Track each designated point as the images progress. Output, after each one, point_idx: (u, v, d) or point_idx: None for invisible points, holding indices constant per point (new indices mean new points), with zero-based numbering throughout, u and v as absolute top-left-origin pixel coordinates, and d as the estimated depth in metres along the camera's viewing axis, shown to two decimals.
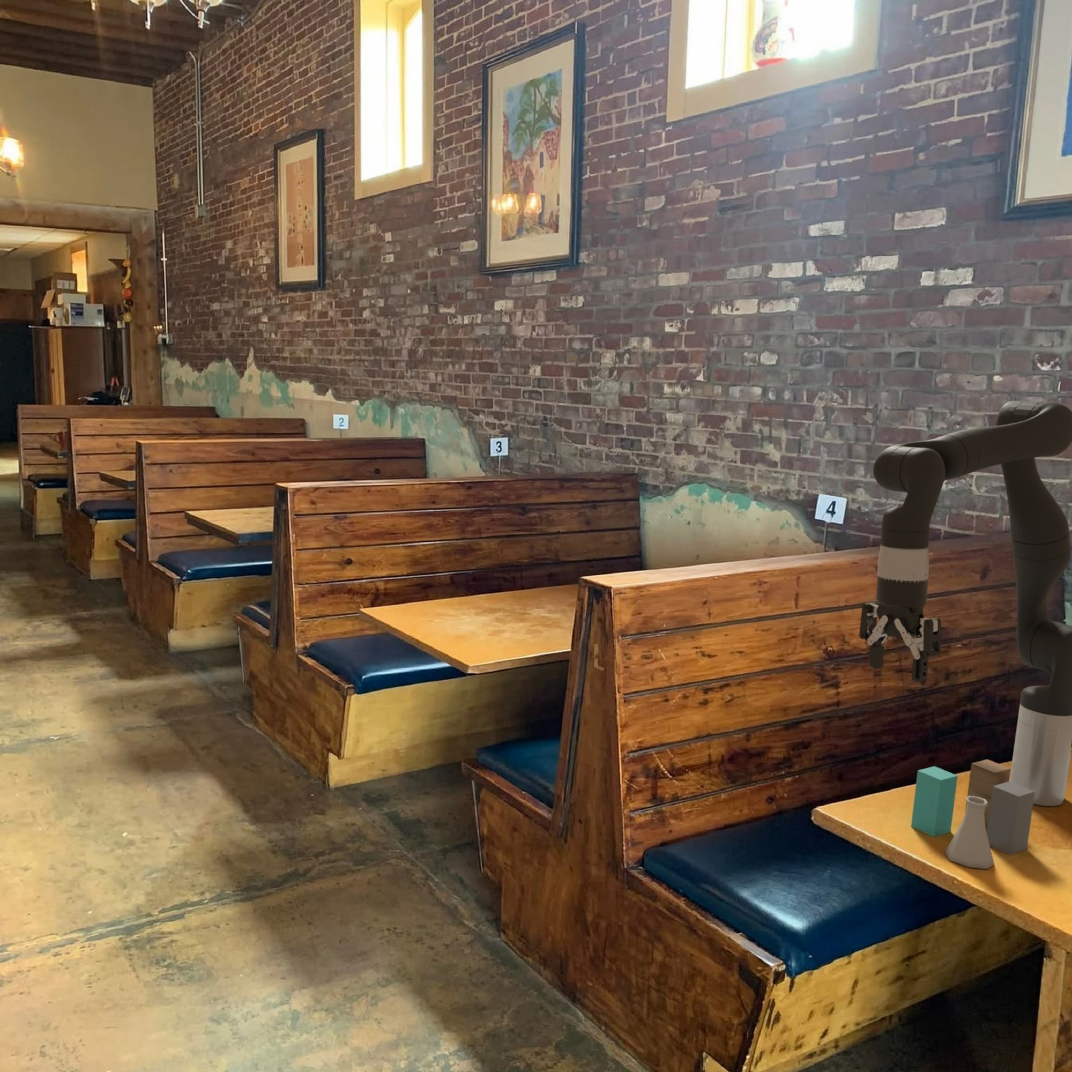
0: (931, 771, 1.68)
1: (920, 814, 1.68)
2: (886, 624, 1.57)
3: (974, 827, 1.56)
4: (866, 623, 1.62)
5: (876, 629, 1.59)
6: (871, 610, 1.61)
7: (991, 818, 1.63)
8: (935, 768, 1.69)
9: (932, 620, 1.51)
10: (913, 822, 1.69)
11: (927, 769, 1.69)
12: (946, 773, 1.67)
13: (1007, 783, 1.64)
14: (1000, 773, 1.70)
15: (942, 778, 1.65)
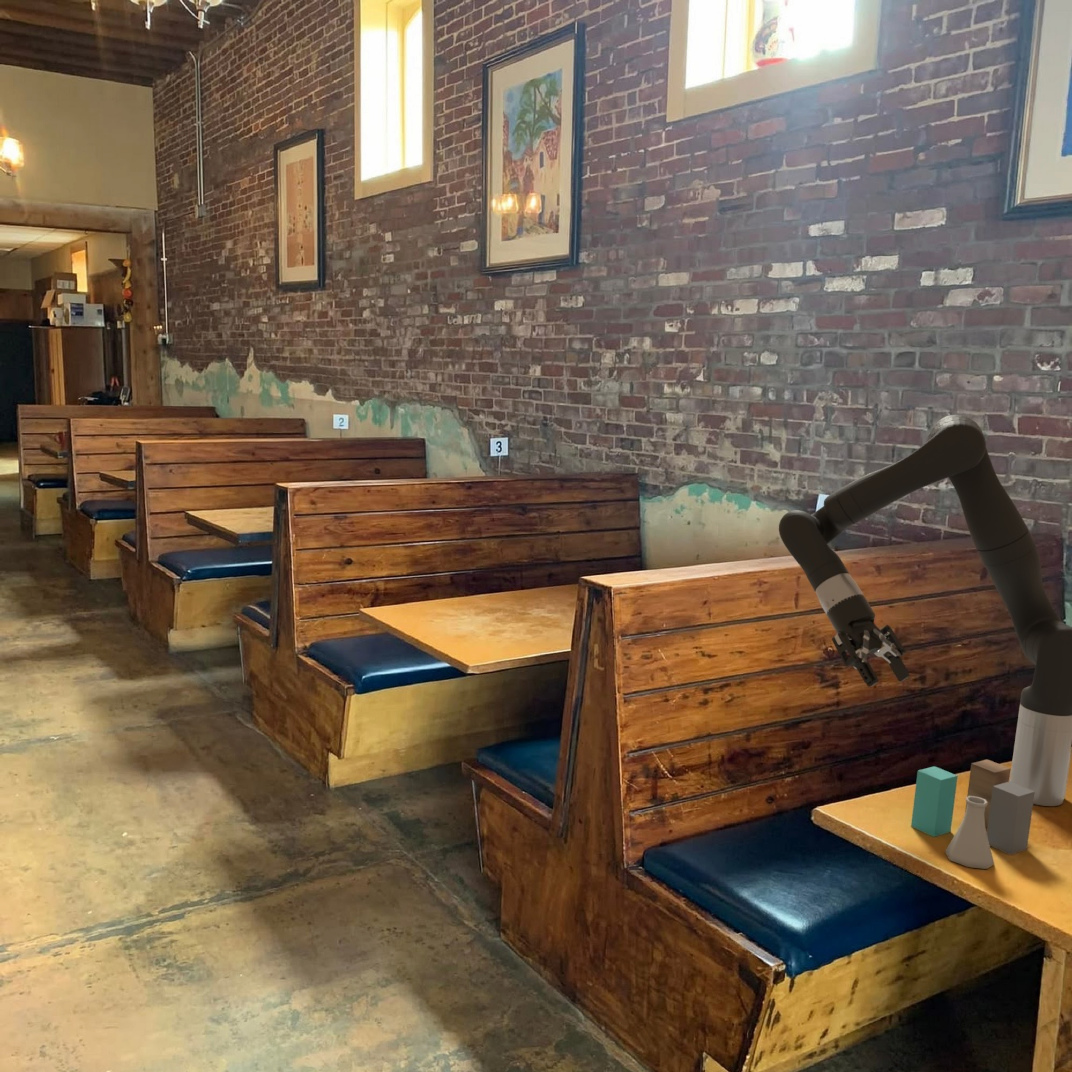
0: (931, 771, 1.68)
1: (920, 814, 1.68)
2: None
3: (974, 827, 1.56)
4: None
5: None
6: None
7: (991, 818, 1.63)
8: (935, 768, 1.69)
9: (834, 636, 1.76)
10: (913, 822, 1.69)
11: (927, 769, 1.69)
12: (946, 773, 1.67)
13: (1007, 783, 1.64)
14: (1000, 773, 1.70)
15: (942, 778, 1.65)
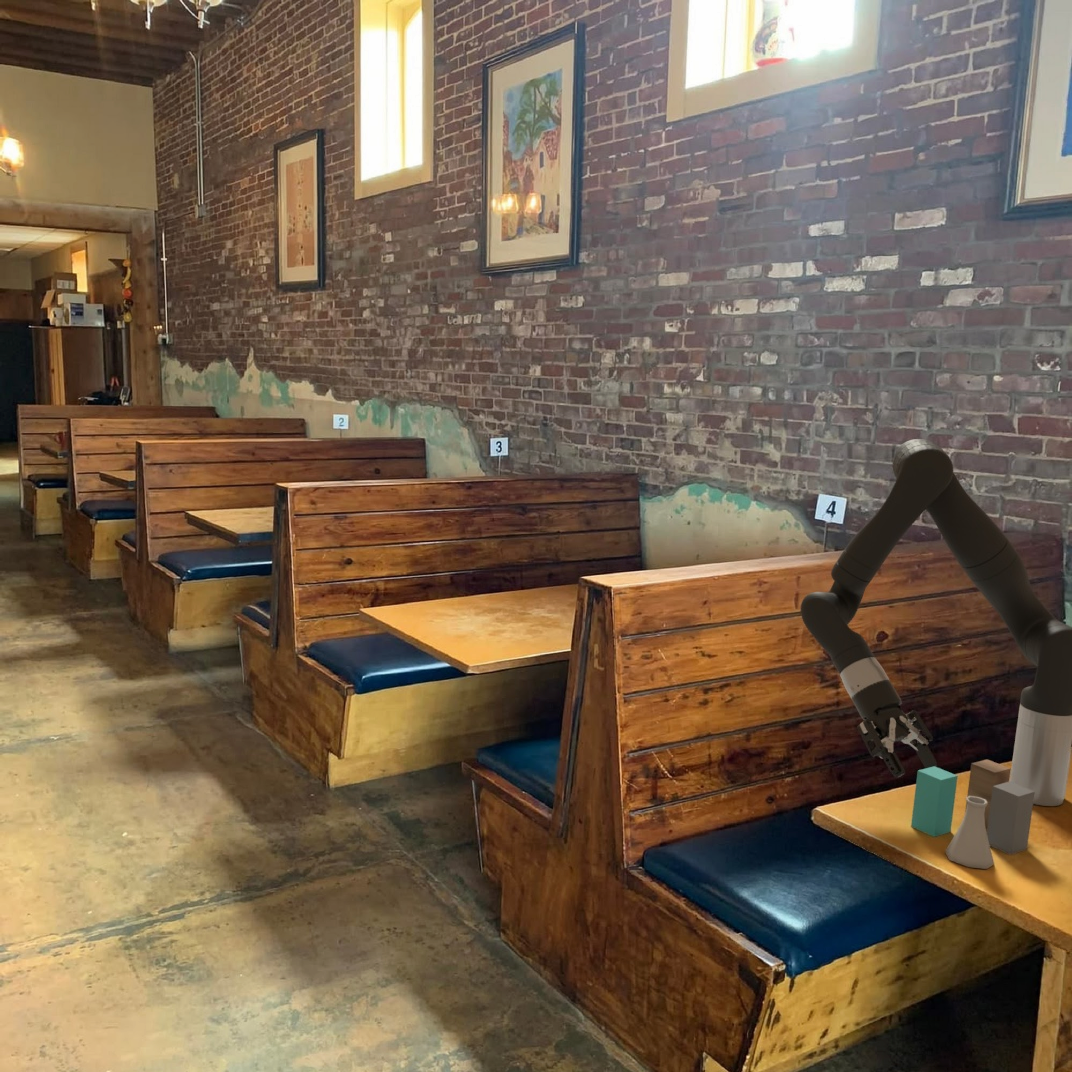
0: (931, 771, 1.68)
1: (920, 814, 1.68)
2: None
3: (974, 827, 1.56)
4: None
5: None
6: None
7: (991, 818, 1.63)
8: (935, 768, 1.69)
9: (860, 724, 1.72)
10: (913, 822, 1.69)
11: (927, 769, 1.69)
12: (946, 773, 1.67)
13: (1007, 783, 1.64)
14: (1000, 773, 1.70)
15: (942, 778, 1.65)
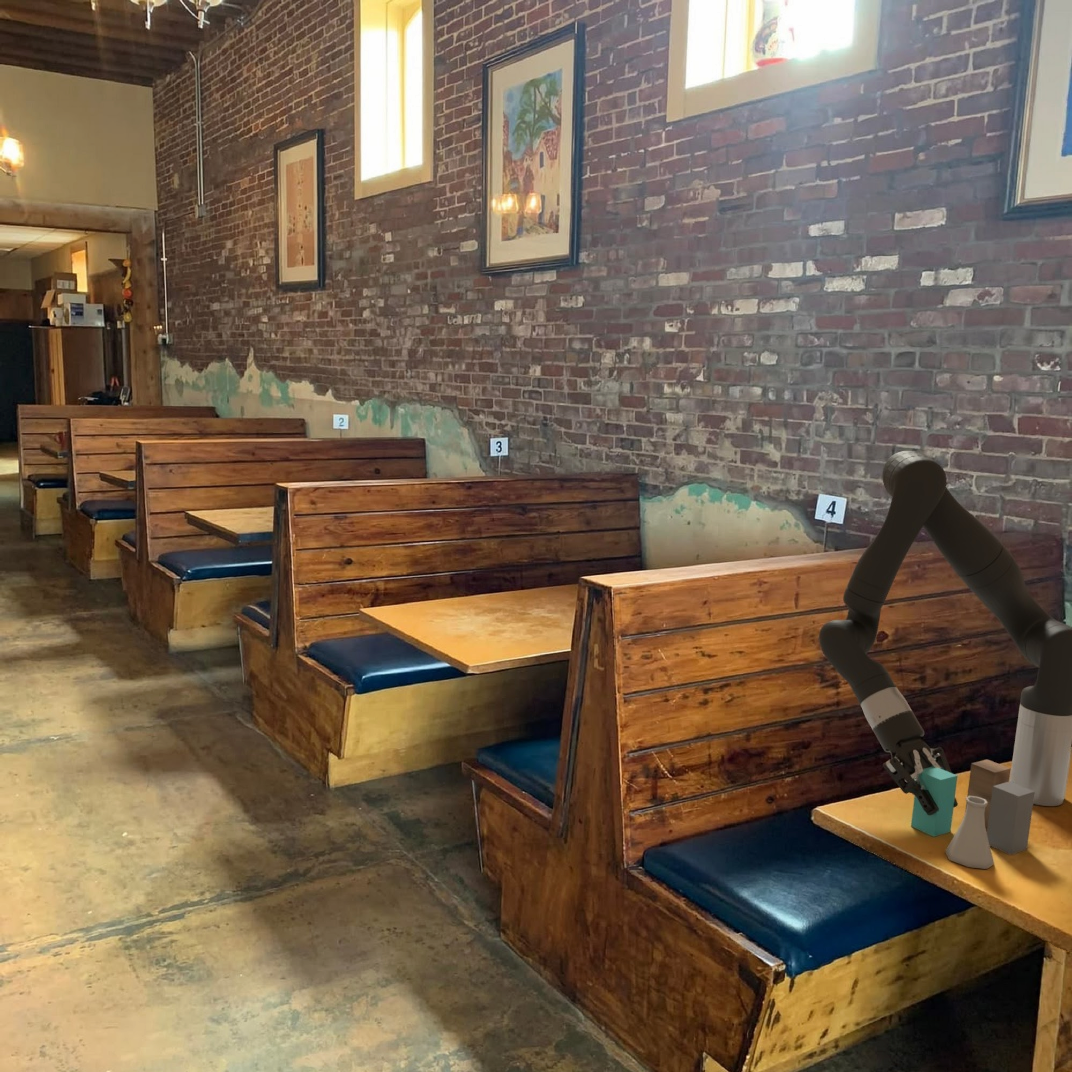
0: (931, 771, 1.68)
1: (920, 814, 1.68)
2: None
3: (974, 827, 1.56)
4: None
5: None
6: None
7: (991, 818, 1.63)
8: (935, 768, 1.69)
9: (886, 763, 1.68)
10: (913, 822, 1.69)
11: (927, 769, 1.69)
12: (946, 773, 1.67)
13: (1007, 783, 1.64)
14: (1000, 773, 1.70)
15: (941, 778, 1.65)
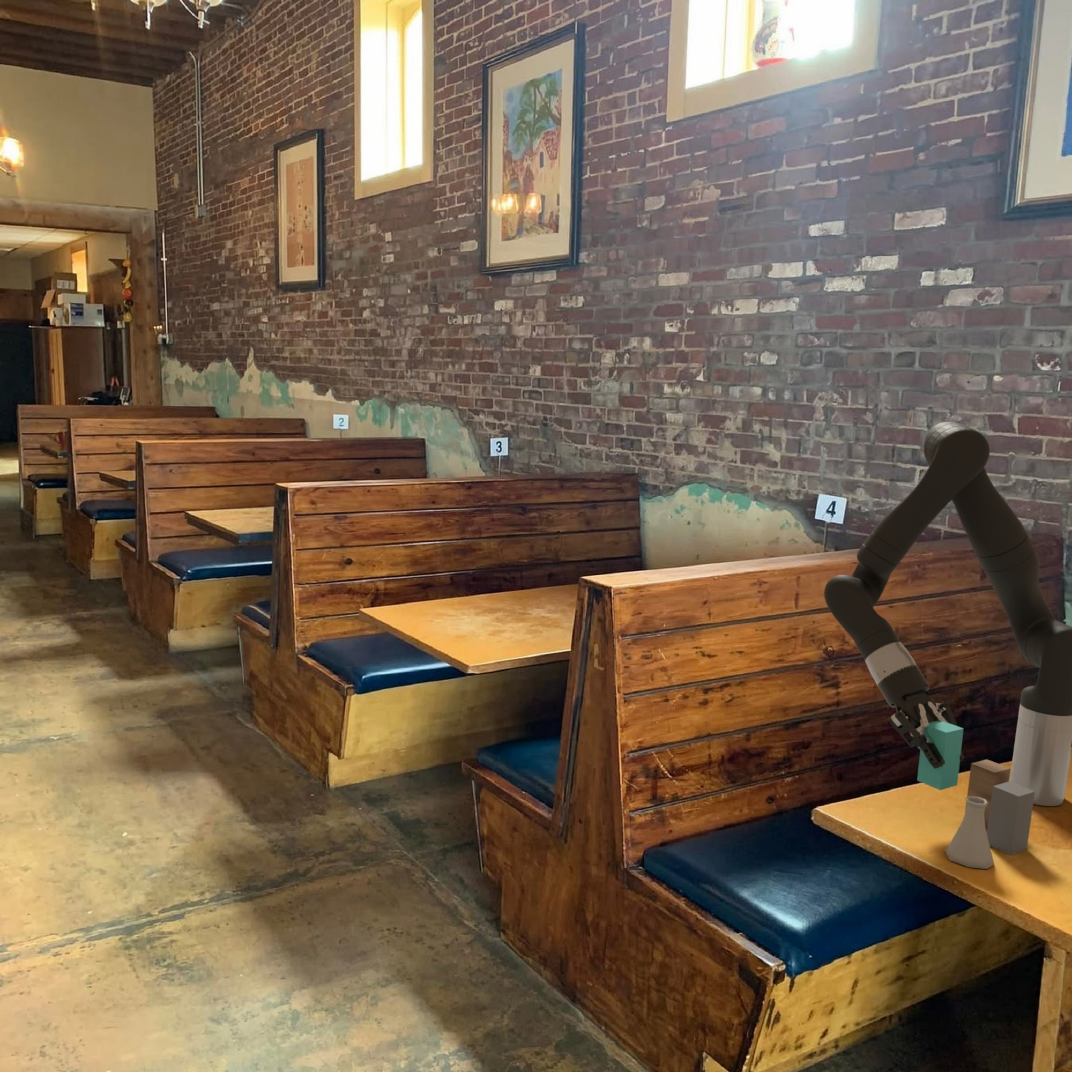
0: (937, 724, 1.67)
1: (926, 768, 1.67)
2: None
3: (974, 827, 1.56)
4: None
5: None
6: None
7: (991, 818, 1.63)
8: (941, 722, 1.68)
9: (891, 717, 1.67)
10: (919, 776, 1.68)
11: (933, 723, 1.67)
12: (952, 726, 1.66)
13: (1007, 783, 1.64)
14: (1000, 773, 1.70)
15: (947, 731, 1.64)
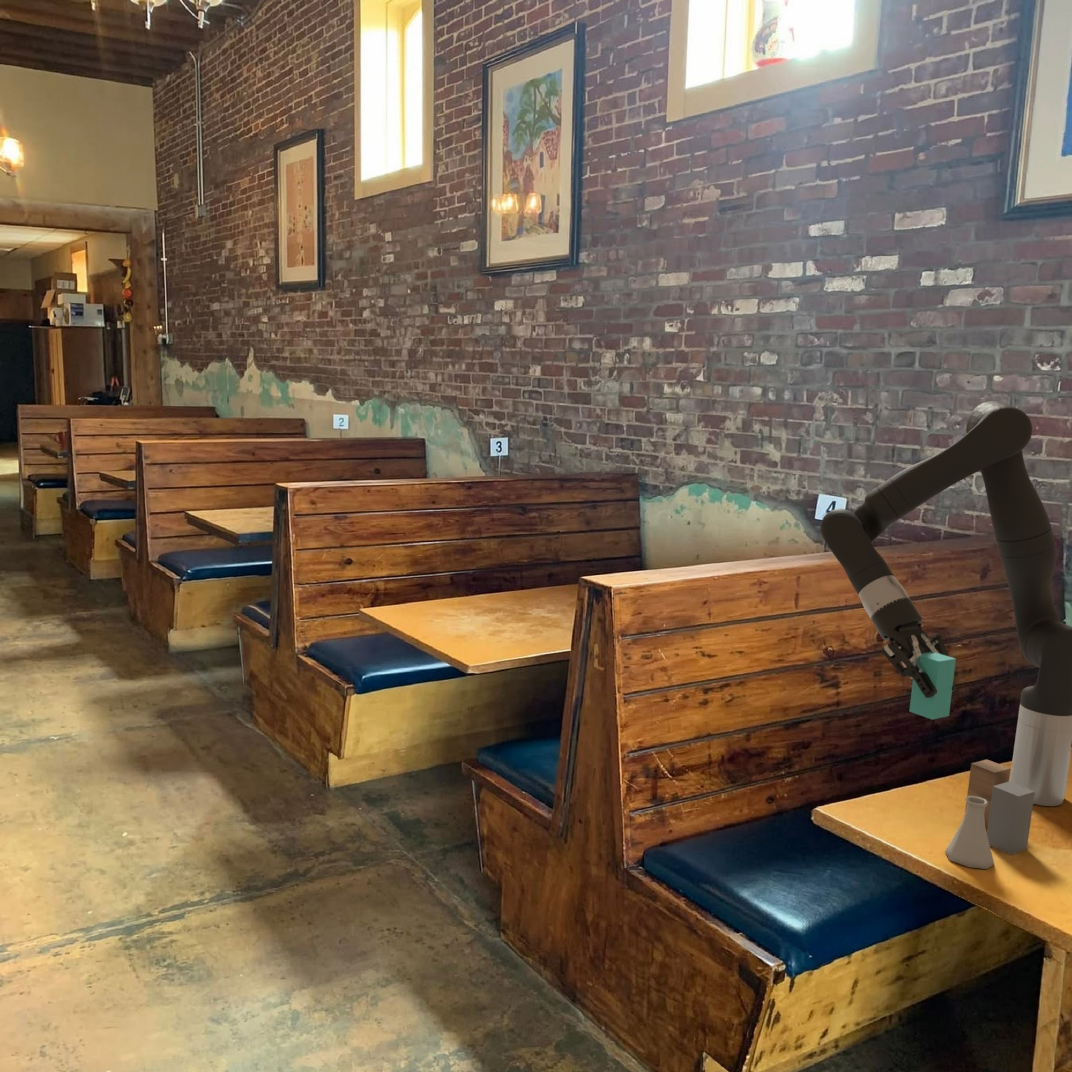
0: (929, 655, 1.67)
1: (918, 698, 1.67)
2: None
3: (974, 827, 1.56)
4: None
5: None
6: None
7: (991, 818, 1.63)
8: (933, 653, 1.69)
9: (884, 648, 1.67)
10: (911, 707, 1.68)
11: (925, 653, 1.68)
12: (944, 656, 1.67)
13: (1007, 783, 1.64)
14: (1000, 773, 1.70)
15: (940, 660, 1.64)
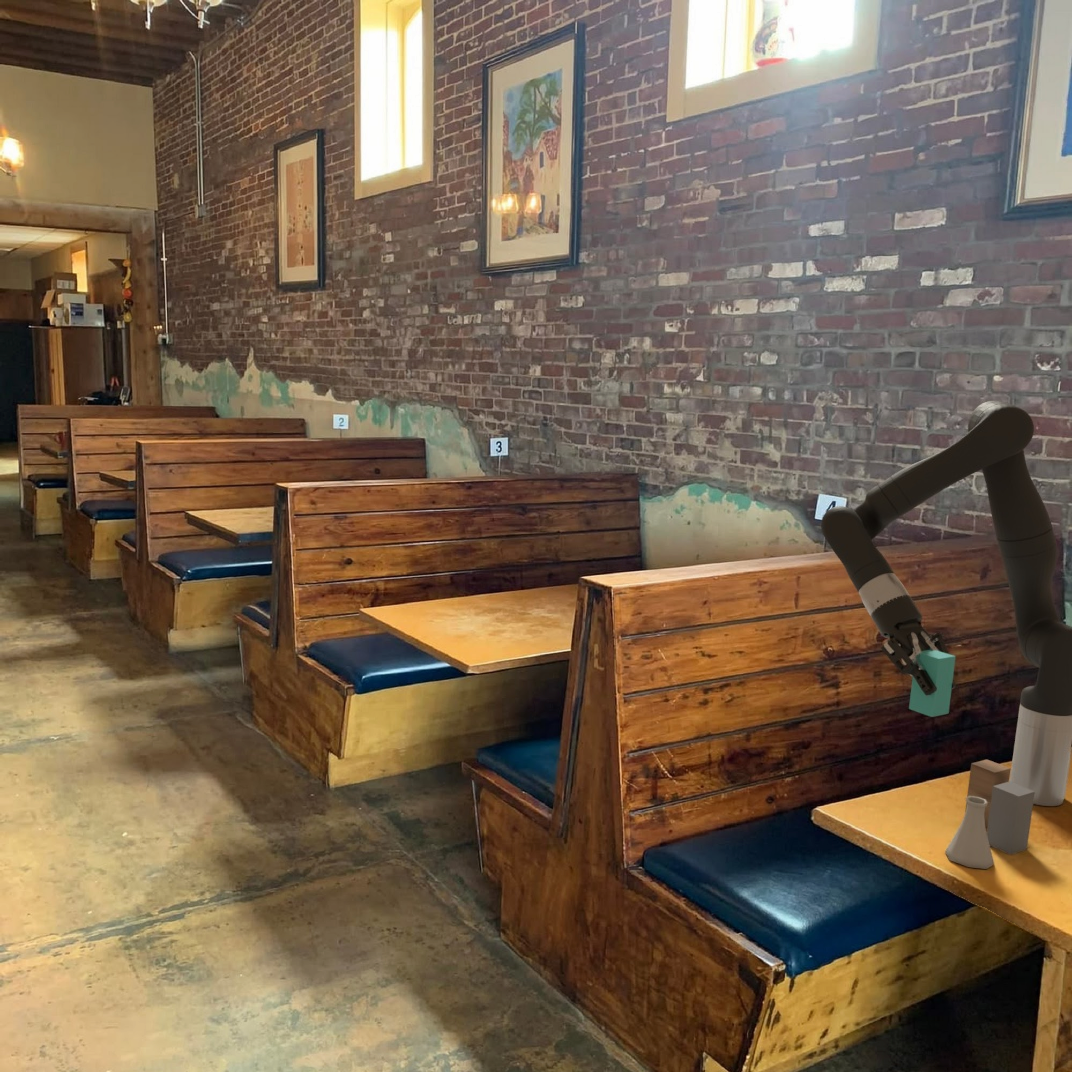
0: (929, 652, 1.67)
1: (918, 695, 1.67)
2: None
3: (974, 827, 1.56)
4: None
5: None
6: None
7: (991, 818, 1.63)
8: None
9: (884, 645, 1.67)
10: (911, 704, 1.68)
11: (925, 651, 1.68)
12: (944, 654, 1.67)
13: (1007, 783, 1.64)
14: (1000, 773, 1.70)
15: (940, 658, 1.64)
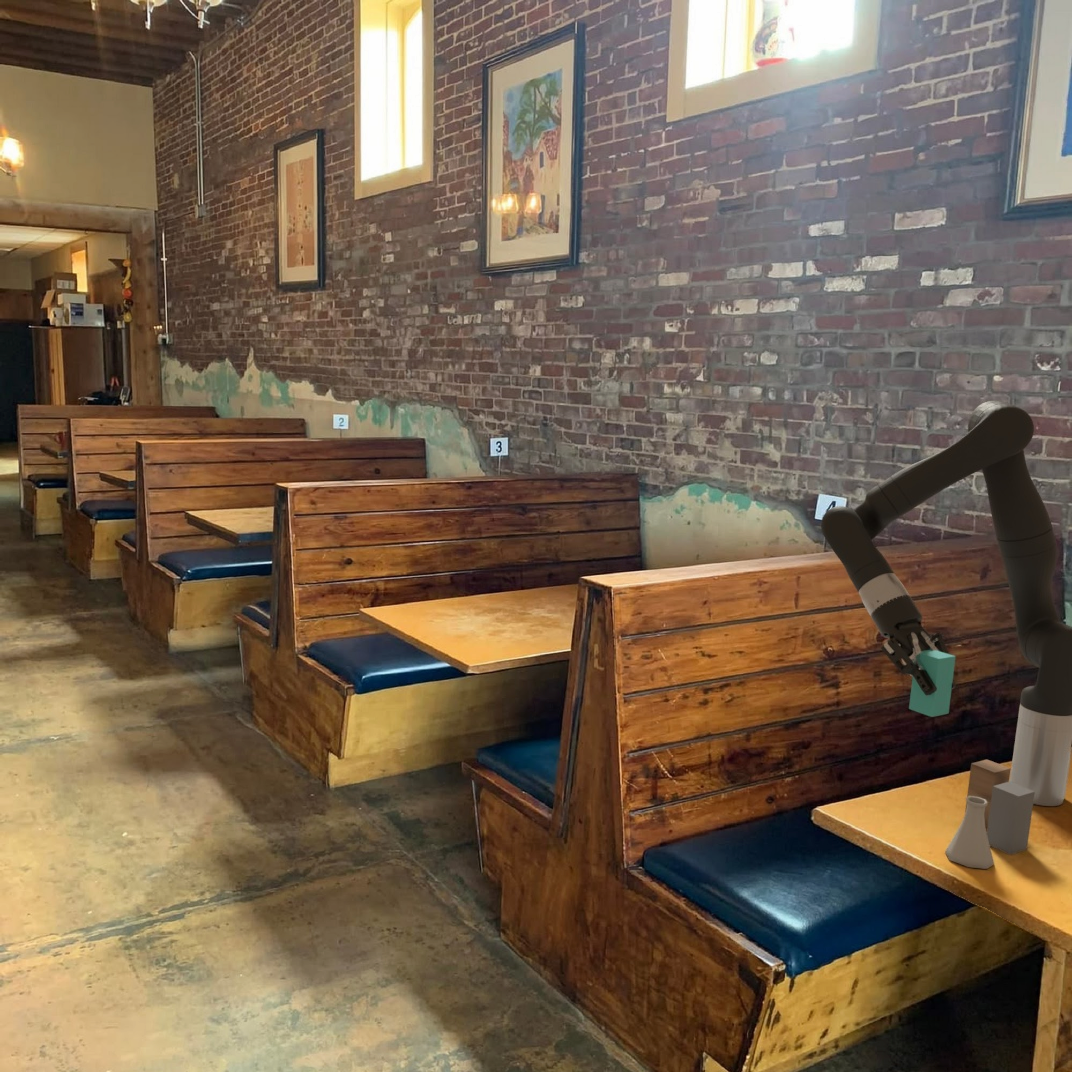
0: (929, 652, 1.67)
1: (918, 695, 1.67)
2: None
3: (974, 827, 1.56)
4: None
5: None
6: None
7: (991, 818, 1.63)
8: None
9: (884, 645, 1.67)
10: (911, 704, 1.68)
11: (925, 651, 1.68)
12: (944, 654, 1.67)
13: (1007, 783, 1.64)
14: (1000, 773, 1.70)
15: (940, 658, 1.64)
